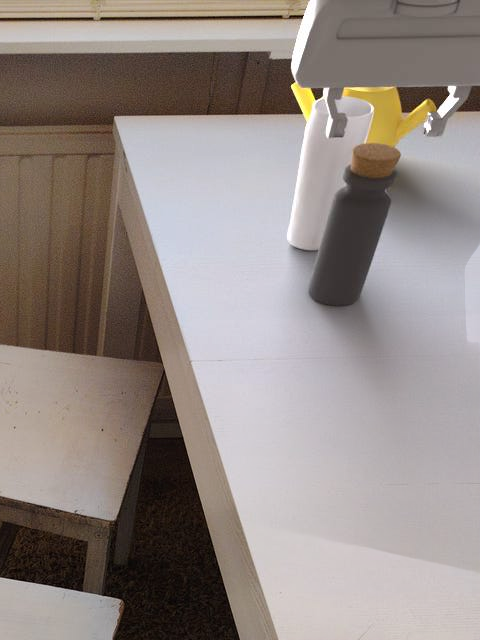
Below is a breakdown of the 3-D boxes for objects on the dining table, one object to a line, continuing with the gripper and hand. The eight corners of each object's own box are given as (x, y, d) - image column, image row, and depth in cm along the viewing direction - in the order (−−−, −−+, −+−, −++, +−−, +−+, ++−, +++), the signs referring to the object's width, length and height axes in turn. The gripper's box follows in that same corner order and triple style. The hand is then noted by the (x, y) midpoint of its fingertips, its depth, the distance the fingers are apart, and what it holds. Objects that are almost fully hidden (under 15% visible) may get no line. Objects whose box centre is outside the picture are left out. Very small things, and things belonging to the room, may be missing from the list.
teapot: (254, 165, 117) (272, 75, 109) (302, 125, 126) (322, 38, 118) (393, 197, 110) (425, 102, 101) (434, 151, 119) (466, 61, 110)
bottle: (357, 309, 92) (405, 166, 81) (304, 301, 94) (344, 159, 82) (362, 284, 96) (408, 143, 84) (310, 277, 97) (349, 137, 85)
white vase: (333, 258, 100) (374, 120, 88) (276, 251, 101) (309, 114, 90) (337, 233, 104) (377, 98, 92) (283, 227, 105) (315, 93, 94)
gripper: (547, -53, 72) (482, 122, 83) (309, -47, 74) (275, 124, 85) (572, -35, 68) (500, 147, 79) (320, -29, 70) (283, 148, 81)
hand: (382, 135), depth 82 cm, fingers open, 8 cm apart
